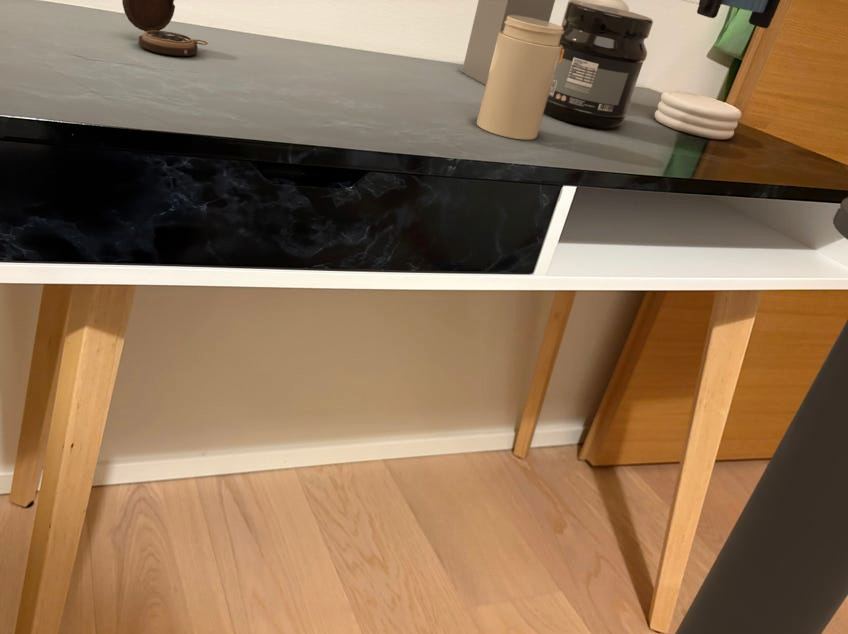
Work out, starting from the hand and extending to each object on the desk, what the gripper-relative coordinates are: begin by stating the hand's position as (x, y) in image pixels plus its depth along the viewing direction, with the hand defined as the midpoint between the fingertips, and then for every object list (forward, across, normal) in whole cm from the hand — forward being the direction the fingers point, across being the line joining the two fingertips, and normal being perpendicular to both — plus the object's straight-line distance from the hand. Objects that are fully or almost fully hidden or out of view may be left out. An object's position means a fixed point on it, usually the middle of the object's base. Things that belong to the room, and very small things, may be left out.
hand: (732, 19), depth 97 cm
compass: (+14, +65, -3) cm, 66 cm away
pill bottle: (+13, +12, -11) cm, 21 cm away
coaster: (+13, 0, 0) cm, 13 cm away
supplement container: (+13, +18, +3) cm, 23 cm away
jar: (+13, +31, +14) cm, 37 cm away
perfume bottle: (+13, +23, -12) cm, 29 cm away
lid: (-3, 0, -1) cm, 3 cm away
